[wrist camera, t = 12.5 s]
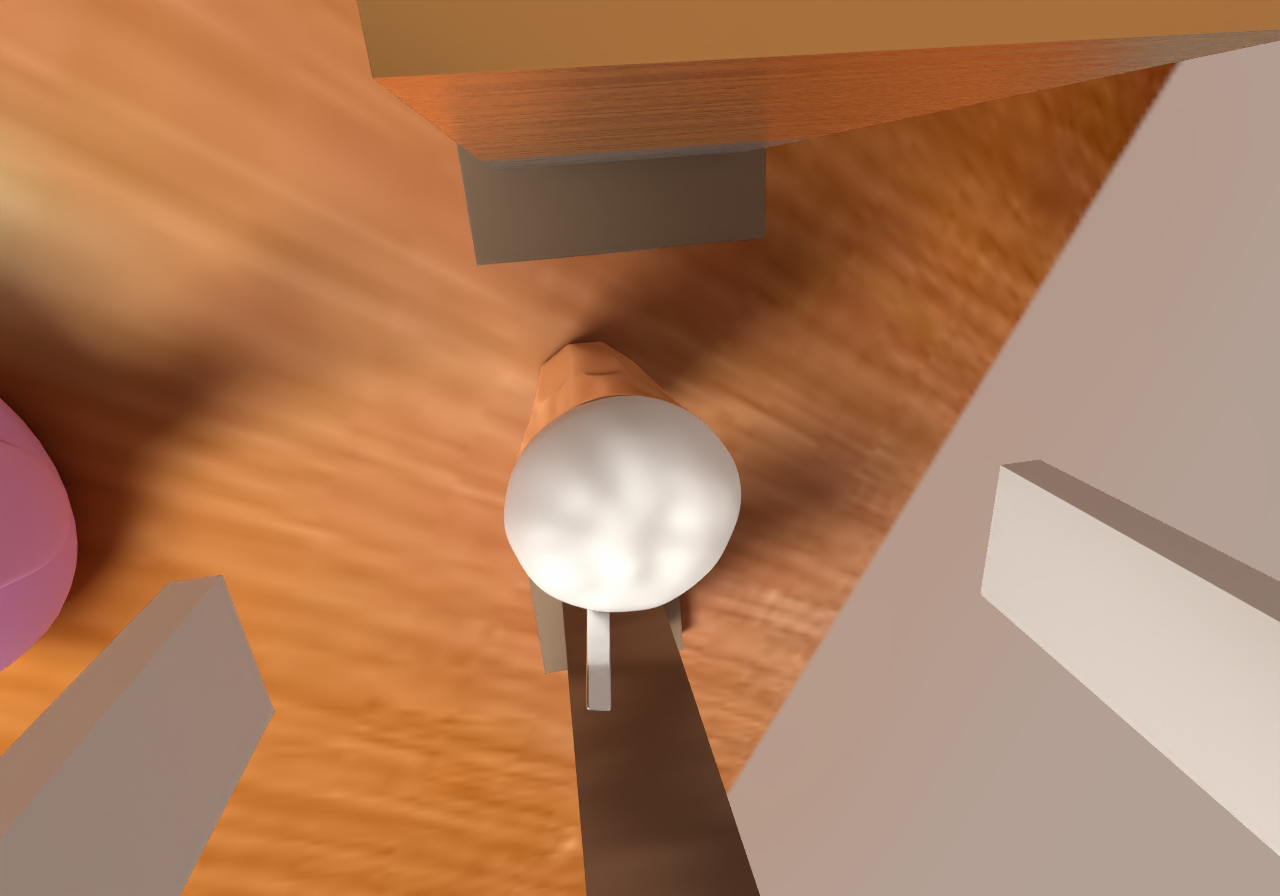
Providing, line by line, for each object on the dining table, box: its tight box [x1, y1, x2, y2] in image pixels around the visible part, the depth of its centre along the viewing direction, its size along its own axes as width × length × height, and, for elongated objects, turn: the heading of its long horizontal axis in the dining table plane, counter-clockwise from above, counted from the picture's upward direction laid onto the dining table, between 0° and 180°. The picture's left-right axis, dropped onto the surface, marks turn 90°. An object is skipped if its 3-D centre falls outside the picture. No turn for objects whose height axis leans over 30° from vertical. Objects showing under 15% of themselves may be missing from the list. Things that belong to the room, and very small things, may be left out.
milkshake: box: [504, 341, 741, 712], centre depth 15 cm, size 4×5×10 cm
